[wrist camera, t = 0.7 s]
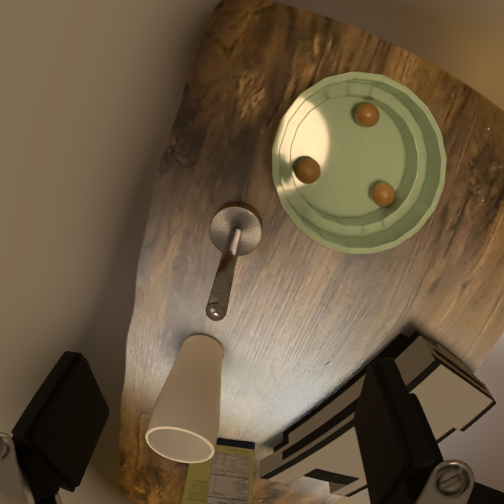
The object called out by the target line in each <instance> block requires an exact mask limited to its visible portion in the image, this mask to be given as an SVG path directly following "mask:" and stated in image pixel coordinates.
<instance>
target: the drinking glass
mask: <svg viewBox="0 0 504 504" xmlns="http://www.w3.org/2000/svg"><path fill="white" fill-rule="evenodd" d="M222 361H223V350H222V347H221V345H220V344H219V343H218V342H217V341H216V340H215V339H213V338H211V337H209V336H206V335H193V336H190V337H188V338H187V339H186V340H185V341H184V342H183V343H182V346H181V348H180V351H179V354H178V356H177V358H176V360H175V362H174V365H173V367H172V369H171V371H170V373H169V375H168V377H167V379H166V381H165V383H164V386H163V388H162V390H161V392H160V394H159V396H158V398H157V401H156V403H155V405H154V408H153V411H152V414H151V417H150V420H149V424H148V427H147V431H146V435H145V439H146V442H147V444H148V445H149V446H150V447H151V448H152V449H153V450H154V451H155V452H157V453H158V454H160V455H162V456H164V457H166V458H168V459H171V460H174V461H178V462H184V463H200V462H204V461H207V460H209V459H210V458H212V457H213V455H214V453H215V448H216V443H217V438H218V432H219V423H220V401H221V372H222Z"/></svg>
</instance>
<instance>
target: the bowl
mask: <svg viewBox="0 0 504 504" xmlns="http://www.w3.org/2000/svg"><path fill="white" fill-rule="evenodd" d="M363 102H369V103H372V104H374V105H375V106H376V107H377V109H378V110H379V113H380V118H379V121H378V123H377V124H376V125H374V126H373V127H363V126H361V125H360V124H358V123H357V121H356V120H355V117H354V110H355V108H356V107H357V105H359V104H360V103H363ZM303 158H312V159H314V160H316V161H317V162H318V164H319V165H320V168H321V174H320V177H319V178H318V180H317V181H316V182H314V183H311V184H305V183H302V182H300V181H299V180H298V179H297V178H296V176H295V172H294V169H295V165H296V164H297V162H298V161H299V160H301V159H303ZM271 172H272V178H273V182H274V185H275V187H276V190H277V193H278V196H279V199H280V202H281V205H282V207H283V209H284V210H285V211H286V213H287V214H288V216H289V217H290V218H291V220H292V221H293V222H294V224H295V225H296V226H297V228H298V229H299V230H300V231H301V232H303V233H304V234H306V235H307V236H308V237H310V238H311V239H313V240H314V241H315V242H317V243H318V244H320V245H321V246H323V247H326V248H330V249H333V250H336V251H339V252H342V253H345V254H374V253H377V252H380V251H383V250H386V249H389V248H393V247H396V246H397V245H399V244H401V243H402V242H404V241H405V240H406V239H408V238H409V237H411V236H412V235H414V234H415V233H416V232H418V231H419V230H420V228H421V227H422V226H423V225H424V223H425V222H426V221H427V220H428V218H429V217H430V216H431V214H432V213H433V212H434V210H435V208H436V206H437V203H438V201H439V198H440V195H441V193H442V190H443V188H444V183H445V173H446V153H445V148H444V143H443V138H442V134H441V131H440V129H439V127H438V125H437V123H436V121H435V119H434V117H433V116H432V114H431V112H430V110H429V108H428V107H427V106H426V105H425V104H424V103H423V102H422V101H421V100H420V99H419V98H418V97H417V96H416V95H415V94H414V93H413V92H412V91H411V90H410V89H409V88H407V87H406V86H404V85H402V84H400V83H398V82H396V81H394V80H392V79H390V78H388V77H386V76H383V75H379V74H372V73H364V72H355V71H354V72H348V73H344V74H339V75H335V76H331V77H326V78H324V79H322V80H321V81H319V82H318V83H316V84H315V85H313V86H311V87H310V88H308V89H307V90H305V91H304V92H302V93H301V94H300V95H298V96H297V97H296V98H295V99H294V100H293V101H292V102H291V103H290V105H289V106H288V107H287V109H286V110H285V111H284V113H283V114H282V115H281V117H280V118H279V120H278V122H277V125H276V128H275V132H274V135H273V138H272V141H271ZM379 182H386V183H389V184H390V185H391V186H392V187H393V188H394V191H395V199H394V201H393V203H392V204H390V205H389V206H386V207H381V206H378V205H377V204H375V203H374V201H373V200H372V197H371V191H372V188H373V187H374V185H376V184H377V183H379Z"/></svg>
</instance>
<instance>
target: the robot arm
mask: <svg viewBox="0 0 504 504" xmlns="http://www.w3.org/2000/svg"><path fill="white" fill-rule="evenodd" d="M108 416H109V408H108V405H107V403H106V402H105V399H104V397H103V395H102V393H101V391H100V389H99V386H98V385H97V382H96V380H95V378H94V375H93V373H92V371H91V368H90V366H89V364H88V361H87V359H86V358H84V357H83V355H82V354H81V353H76V352H69V351H66V352H65V353H64V354H63V355H62V356H61V358H60V359H59V361H58V362H57V364H56V365H55V366H54V368H53V369H52V371H51V372H50V373H49V375H48V376H47V378H46V379H45V381H44V382H43V384H42V385H41V387H40V388H39V390H38V391H37V392H36V394H35V395H34V397H33V399H32V400H31V402H30V403H29V405H28V406H27V408H26V409H25V411H24V413H23V414H22V416H21V417H20V419H19V421H18V422H17V423H16V425H15V427H14V428H13V430H12V434H13V437H12V438H11V437H10V436H9V435H8V434H6V433H1V432H0V504H62V502H61V499H60V496H59V493H58V491H59V488H60V487H61V488H62V489H65V490H68V491H71V492H74V490H75V487H78V486H79V485H80V483H81V480H82V478H83V476H84V473H85V471H86V468H87V466H88V463H89V461H90V458H91V456H92V454H93V451H94V449H95V447H96V444H97V442H98V439H99V437H100V435H101V433H102V430H103V428H104V426H105V423H106V421H107V419H108ZM354 427H355V431H356V436H357V440H358V445H359V449H360V454H361V458H362V463H363V468H364V472H365V477H366V482H367V487H368V492H369V497H370V502H371V504H504V493H503V492H501V491H498V490H495V489H492V488H490V487H487V486H485V485H482V484H479V483H476V482H474V480H475V479H474V474H473V471H472V470H471V468H470V467H469V466H468V465H467V464H466V463H464V462H462V461H459V460H447V461H444V460H443V457H442V454H441V452H440V449H439V447H438V444H437V442H436V439H435V437H434V434H433V432H432V430H431V427H430V425H429V422H428V420H427V418H426V415H425V413H424V411H423V408H422V406H421V404H420V401H419V399H418V397H417V396H416V395H415V394H414V393H409V392H408V390H407V388H406V385H405V383H404V381H403V379H402V376H401V374H400V372H399V370H398V368H397V365H396V363H395V361H394V359H393V358H392V357H388V358H379V359H374V361H373V364H369V365H368V367H367V371H366V375H365V378H364V382H363V386H362V390H361V393H360V397H359V400H358V404H357V407H356V411H355V414H354Z"/></svg>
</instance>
